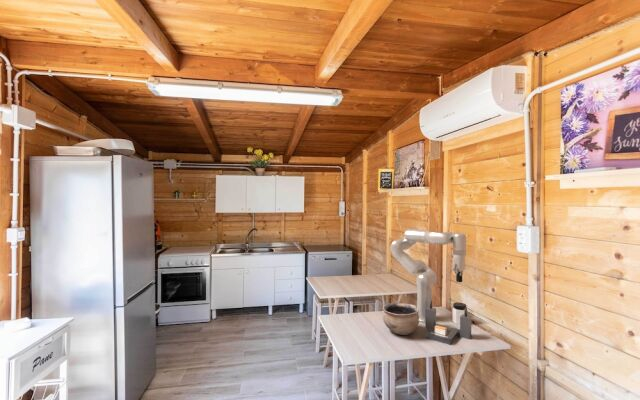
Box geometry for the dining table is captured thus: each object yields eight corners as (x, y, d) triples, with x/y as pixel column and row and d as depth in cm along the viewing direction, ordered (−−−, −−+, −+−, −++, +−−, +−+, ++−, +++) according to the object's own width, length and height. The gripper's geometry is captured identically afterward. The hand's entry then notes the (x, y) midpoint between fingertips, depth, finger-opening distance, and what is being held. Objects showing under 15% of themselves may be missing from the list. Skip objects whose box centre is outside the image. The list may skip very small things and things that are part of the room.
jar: (452, 323, 209) (452, 305, 209) (452, 319, 216) (452, 301, 216) (467, 325, 205) (467, 307, 205) (466, 321, 213) (466, 303, 213)
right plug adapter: (459, 336, 188) (460, 307, 188) (462, 334, 192) (462, 305, 192) (468, 339, 185) (469, 309, 185) (471, 336, 189) (471, 307, 189)
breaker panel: (425, 337, 187) (425, 332, 187) (436, 328, 201) (436, 323, 201) (450, 344, 178) (450, 339, 178) (460, 334, 192) (460, 329, 192)
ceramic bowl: (421, 341, 182) (421, 315, 182) (382, 338, 186) (382, 312, 186) (417, 326, 204) (417, 303, 204) (382, 323, 208) (382, 300, 208)
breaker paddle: (434, 332, 187) (434, 326, 187) (436, 331, 189) (436, 325, 189) (445, 335, 183) (445, 329, 183) (446, 334, 185) (446, 327, 185)
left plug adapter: (425, 327, 202) (425, 300, 202) (428, 325, 206) (428, 298, 206) (433, 329, 199) (433, 302, 199) (436, 327, 203) (436, 300, 203)
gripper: (457, 250, 209) (457, 278, 209) (448, 253, 198) (448, 282, 198) (469, 252, 203) (469, 280, 203) (461, 255, 193) (461, 285, 193)
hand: (459, 281), depth 201 cm, fingers closed
